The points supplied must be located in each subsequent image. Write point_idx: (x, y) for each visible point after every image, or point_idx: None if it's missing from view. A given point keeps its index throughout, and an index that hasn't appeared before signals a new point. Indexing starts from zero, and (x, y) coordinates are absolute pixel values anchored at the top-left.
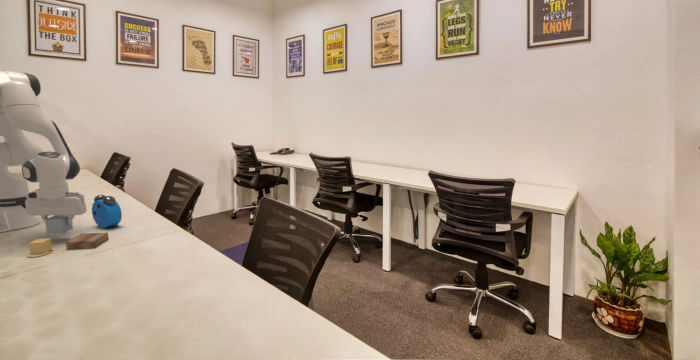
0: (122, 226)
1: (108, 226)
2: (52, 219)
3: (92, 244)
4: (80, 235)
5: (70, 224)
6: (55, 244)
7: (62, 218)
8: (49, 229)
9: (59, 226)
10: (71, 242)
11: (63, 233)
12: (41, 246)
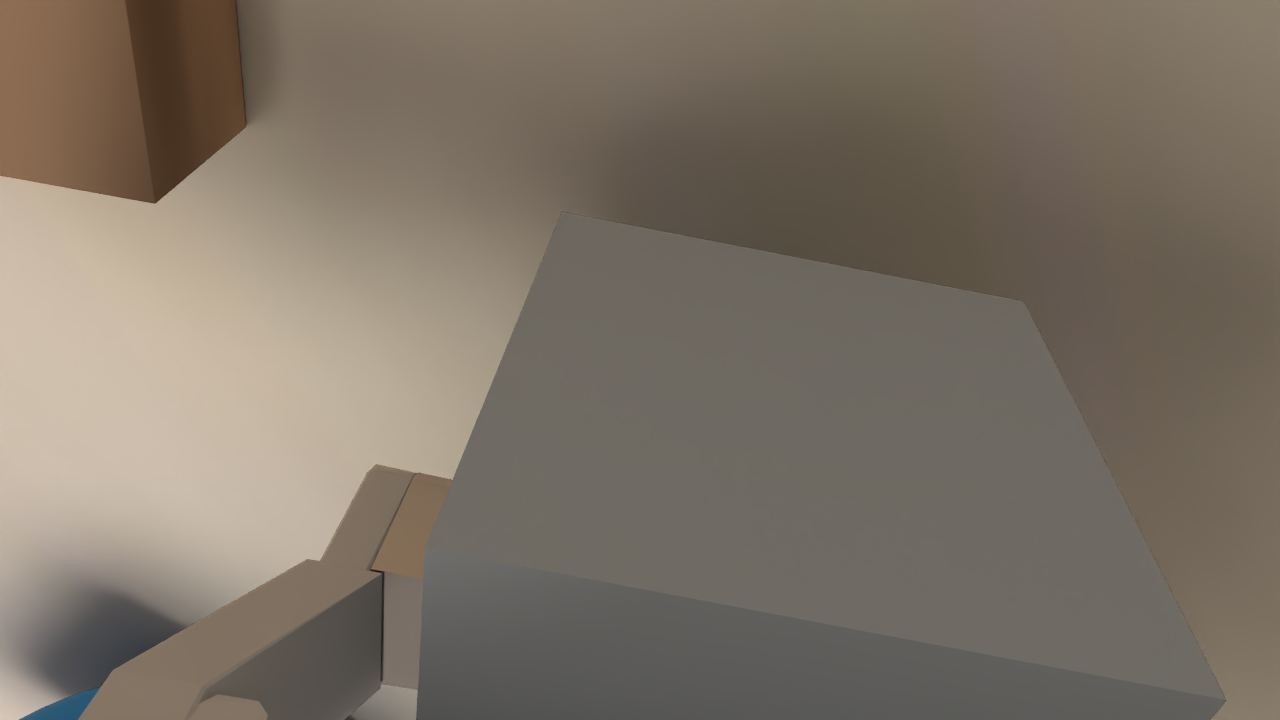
0: (34, 694)
1: None
2: (872, 646)
3: None
4: (45, 7)
5: (370, 491)
6: (764, 13)
7: (478, 674)
8: (968, 367)
9: (623, 359)
10: None
11: (566, 217)
12: None
